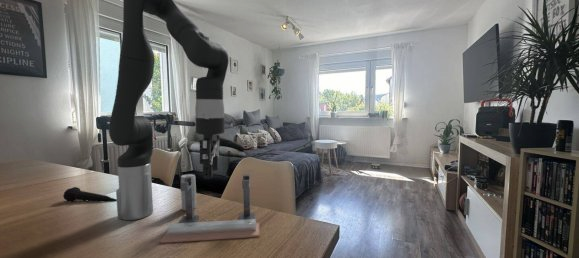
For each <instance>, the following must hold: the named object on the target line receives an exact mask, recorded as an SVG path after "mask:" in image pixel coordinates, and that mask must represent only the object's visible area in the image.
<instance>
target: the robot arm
mask: <svg viewBox="0 0 579 258" xmlns="http://www.w3.org/2000/svg"><path fill="white" fill-rule="evenodd" d="M122 2H123V4H122V5H123V13H122V16H123V19H122V21H123V22H122V25H123V26H122V27H123V28H122V37H121V45H120V46H121V47H120V54H119V61H118V75H117V81H116V82H117V83H116V89H115V97H114V101H113V107H112V111H111V115H110V119H109V123H108V135H109V138H110V140H111V142H112V143H113V144H115V145H117V146H121V147H122V146H128V147H127V149H126V150H125V152H124V153H122V154H121V155H119V156H118V158H117V175H118V176H117V178H118V189H116V190H115V192H116V199H117V201H116V209H117V210H116V211H117V219H118V220H119V219H122V220H124V221H133V220H140V219H143V218H146V217H148V216H150V215H152V214H153V212H154V201H153V187H152V186H153V185H152V184H153V183H152V168H151V167H152V165H151V159H152V156H153V152H154V148H153V147H154V146H153V143H154V132H153V131H154V129H153V127H152V126H153V125H152V123H151V121H150V120H149V119H148V118H147V117H145V116H143V115H136V111H137V107H138V103H139V101H140V99H141V97H142V96H143V95H144V93H145V91H146V90H147V89H148V88H149V86H150V84H151V82H152V80H153V76H154V69H155V64H156V63H155V62H156V60H155V59H156V57H155V54H154V51H153V48H152V45H151V44H150V40H149V38H148V36H147V33H146V31H145V27H144V13H146V14H149V15H150V16H156V17H158V18H159V19H161V20H162V21H163V22H165V23H166V24H165V25H166V29H167V31H168V34H170V36H171V37H172V38H173V39H174V40H175V41H176V42H177V43H178V44H179V45H180V47H182V50H183V52H184V54H185V55H186V57H187V59H188V60H189V61H190V62H191V63H192V64H194V65H195V66H196V67H199V68H203V69H207V72H206V76H201V77H198V78H197V79H196V81H195V108H194V109H195V111H194V113H195V115H194V116H195V133H196V134H197V135H203V139H202V140H201V139H200V140H199V164H200V165H201V166H202V178H203V179H204V180H211V179H212V178H213V171H214V172H215V171H218V169H219V157H220V153H221V151H220V137H221V136H220V135H222V134H224V133H225V105H224V83H225V79H226V75H227V71H228V67H229V54H228V51H227V49H226V48H225V46H224V45H221V44H219V43H217V42H213V41H210V40H207V39H206V36H205V33H204V32H203V31H202V29H201V28H199V27H198V25H196V23H194V21H192V20H191V19H190V18H189V17H188V16H186V15H185V14H184V12H182V10H181V9H180V8H179V7H178V5H177V4H176V3H175V2H174V0H123V1H122Z"/></svg>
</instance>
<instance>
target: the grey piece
mask: <svg viewBox="0 0 579 258" xmlns="http://www.w3.org/2000/svg"><path fill="white" fill-rule="evenodd" d="M187 176H193V193H194V210H195V209H196V208H197V185H196V183H197V182H196V175H195V173H194V174H193V173H187V174H186V173H185V174H182V175H181V176H180V183H181V182H185V180H184V178H185V177H187ZM180 192H181V194H180V195H181V196H180V197H181V208H182V210H183V211H184V212H186V205H185V191H181V190H180Z"/></svg>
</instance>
